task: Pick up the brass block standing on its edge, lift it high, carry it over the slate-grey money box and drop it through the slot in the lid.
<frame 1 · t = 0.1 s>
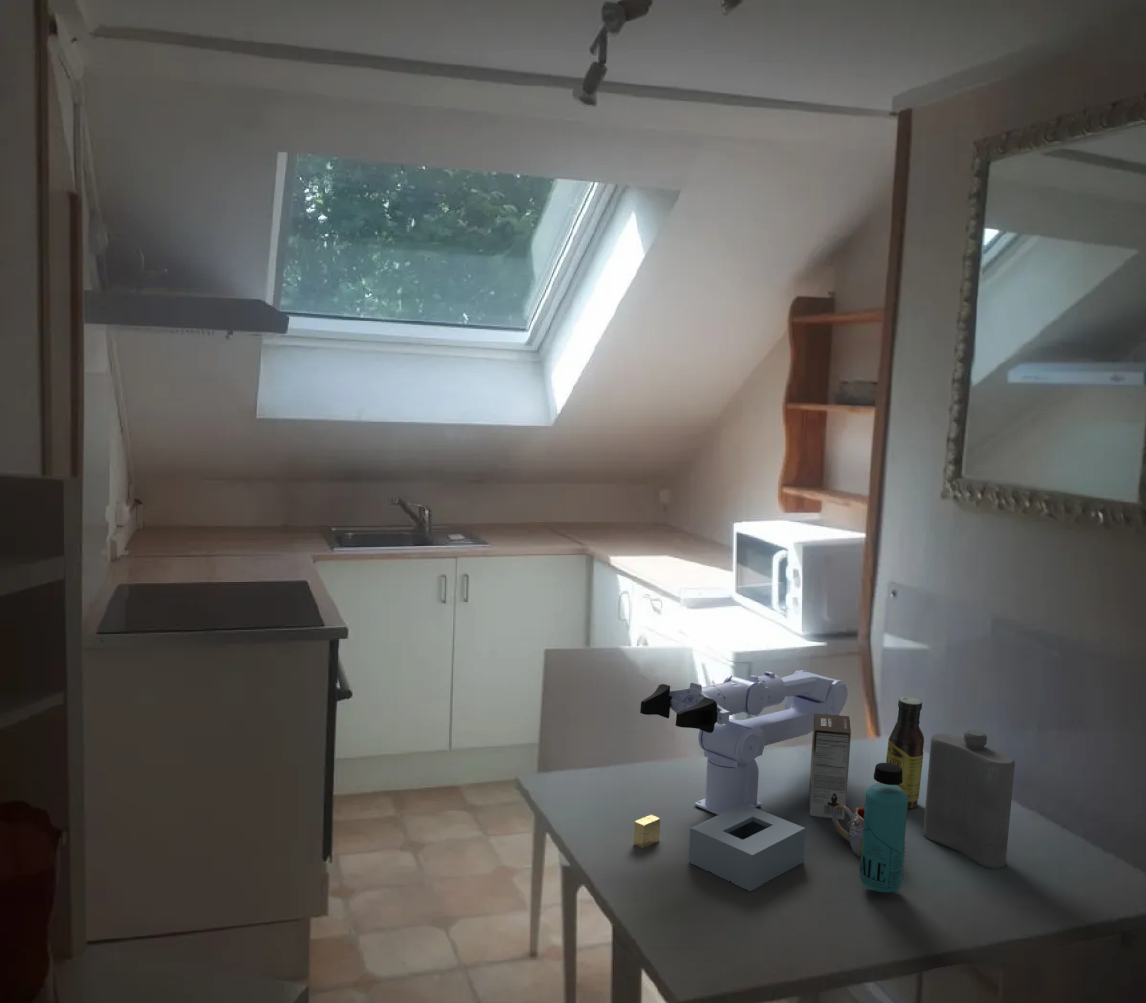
hand: (659, 713, 170), 22 cm above the table, tool horizontal, fingers open, 7 cm apart
brass block: (646, 843, 171), on the table
sauce bottle: (900, 805, 190), on the table
flask: (964, 849, 173), on the table
coffee box: (826, 808, 187), on the table
mug: (859, 848, 172), on the table
money box: (746, 862, 166), on the table
beverage bottle: (879, 893, 158), on the table
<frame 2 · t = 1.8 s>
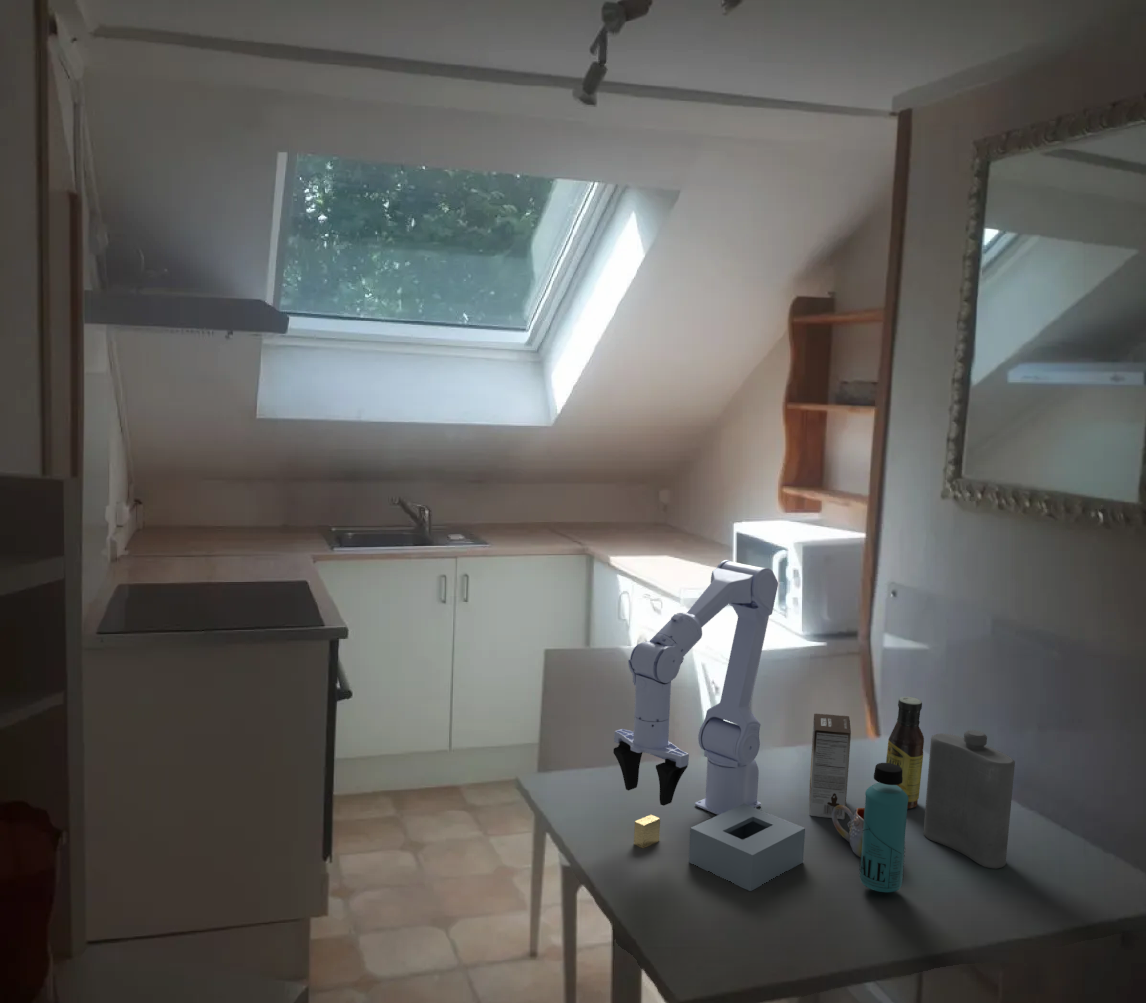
hand: (648, 795, 170), 8 cm above the table, tool pointing down, fingers open, 7 cm apart
nothing on the table moved.
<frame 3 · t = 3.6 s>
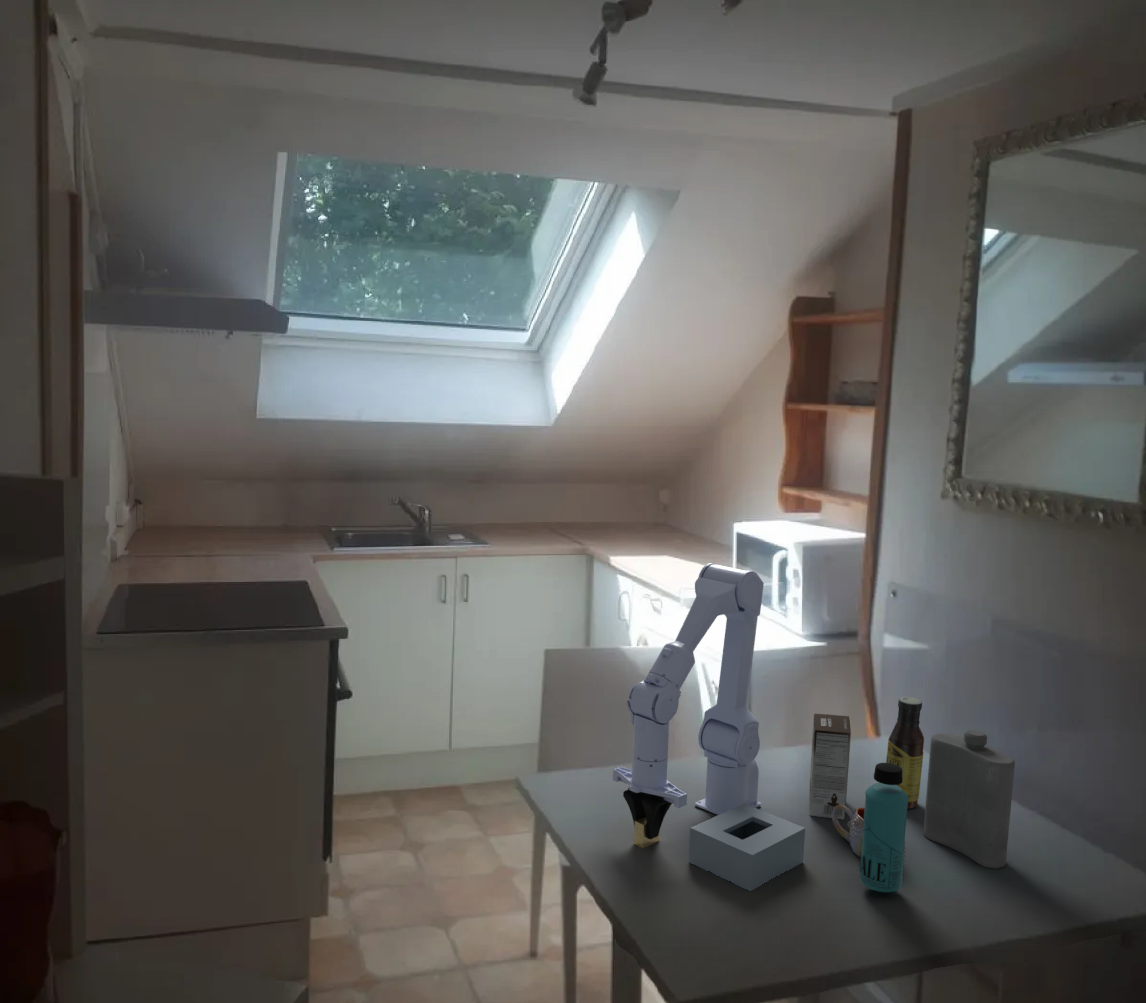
hand: (646, 834, 171), 1 cm above the table, tool pointing down, fingers closed on brass block, 2 cm apart
brass block: (646, 842, 171), on the table, touching gripper
everything else where it was.
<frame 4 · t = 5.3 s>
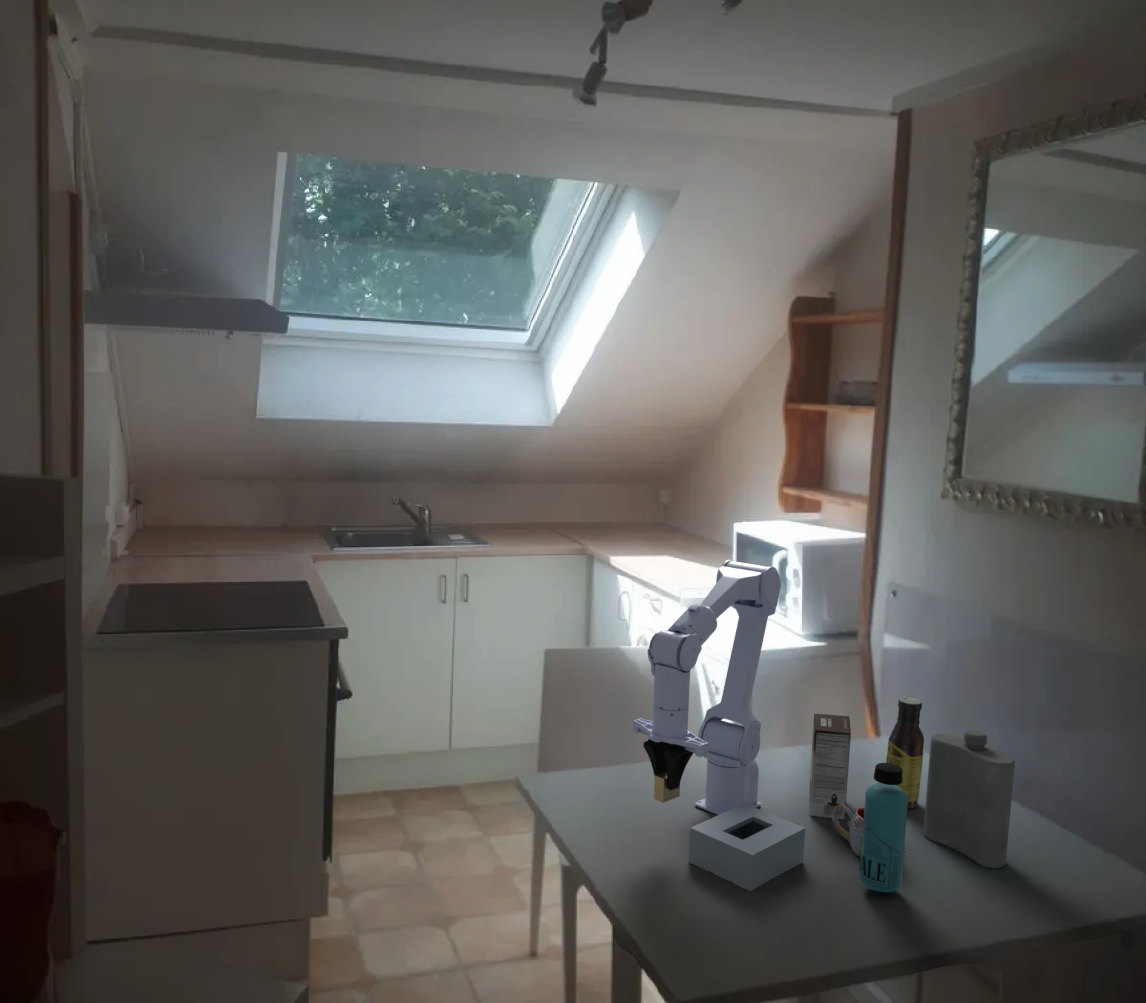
hand: (667, 785, 169), 10 cm above the table, tool pointing down, fingers closed on brass block
brass block: (666, 797, 169), point 8 cm above the table, touching gripper
everything else where it was.
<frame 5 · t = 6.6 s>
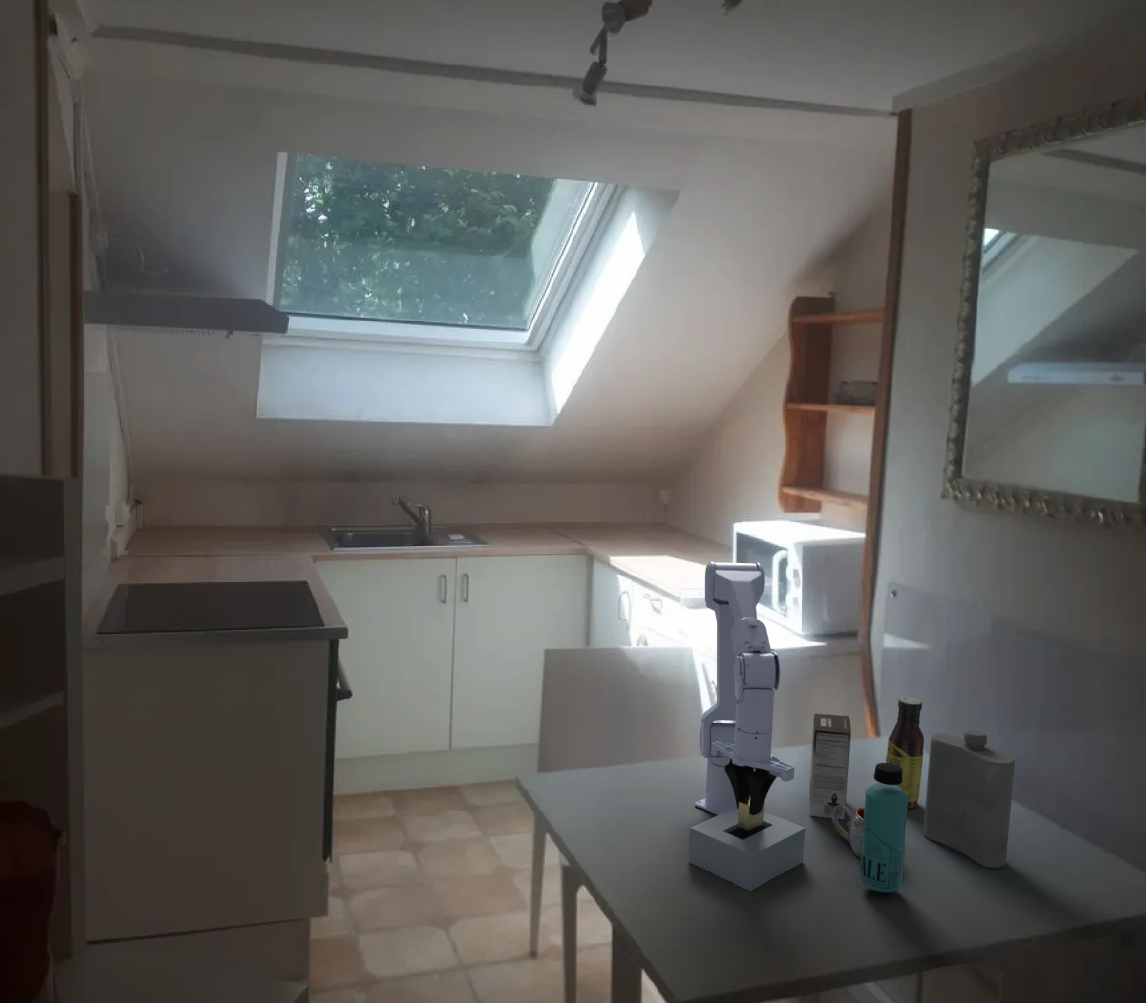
hand: (749, 810, 164), 9 cm above the table, tool pointing down, fingers closed on brass block
brass block: (750, 825, 165), point 6 cm above the table, touching gripper
everything else where it was.
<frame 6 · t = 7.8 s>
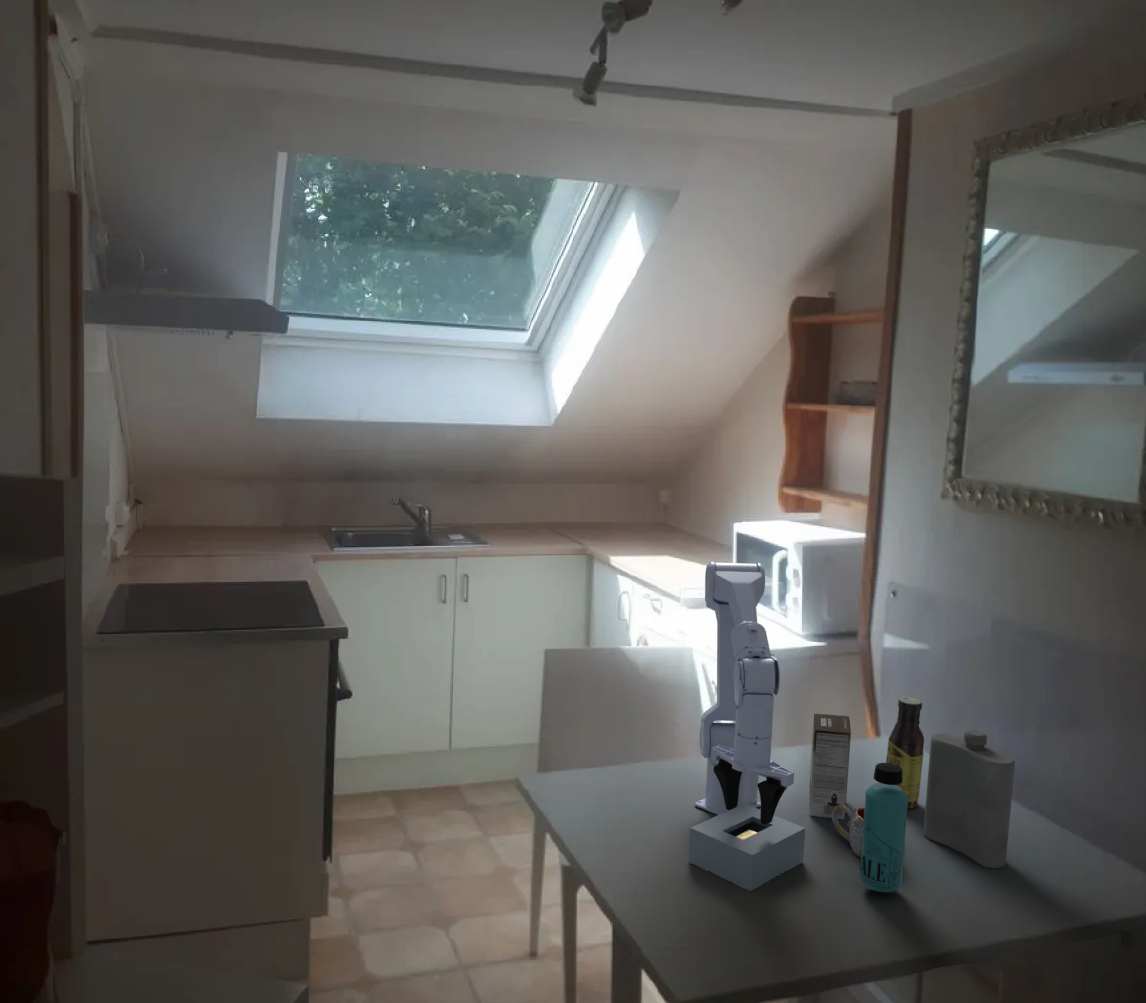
hand: (748, 815, 165), 8 cm above the table, tool pointing down, fingers open, 6 cm apart
brass block: (746, 859, 166), resting on money box
everything else where it was.
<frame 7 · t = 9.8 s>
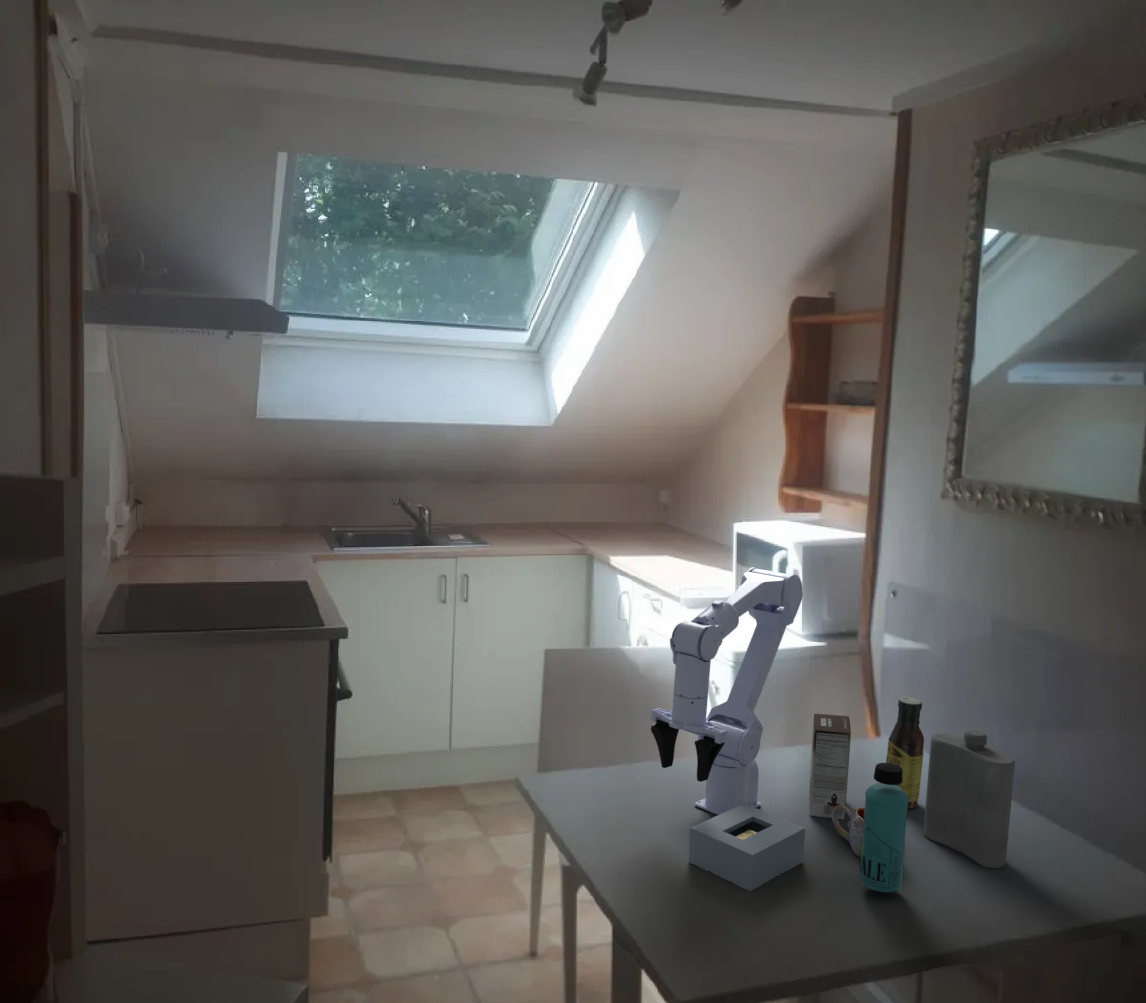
hand: (684, 773, 174), 10 cm above the table, tool pointing down, fingers open, 7 cm apart
nothing on the table moved.
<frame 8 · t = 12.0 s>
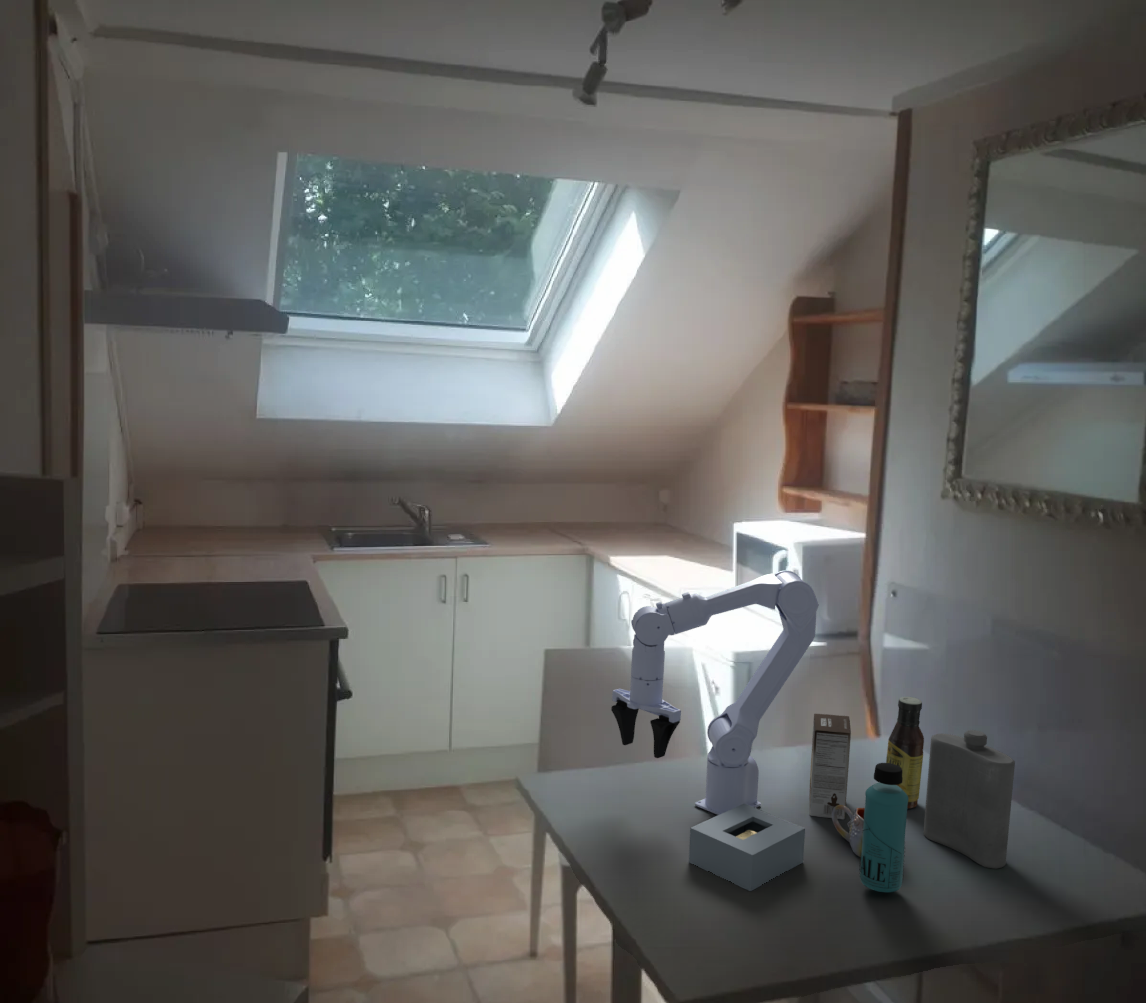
hand: (643, 750, 184), 10 cm above the table, tool pointing down, fingers open, 7 cm apart
nothing on the table moved.
at the end: brass block inside the target area on the money box (0.1 cm from its centre), point 0.5 cm above the money box's base; the gripper is holding nothing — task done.
